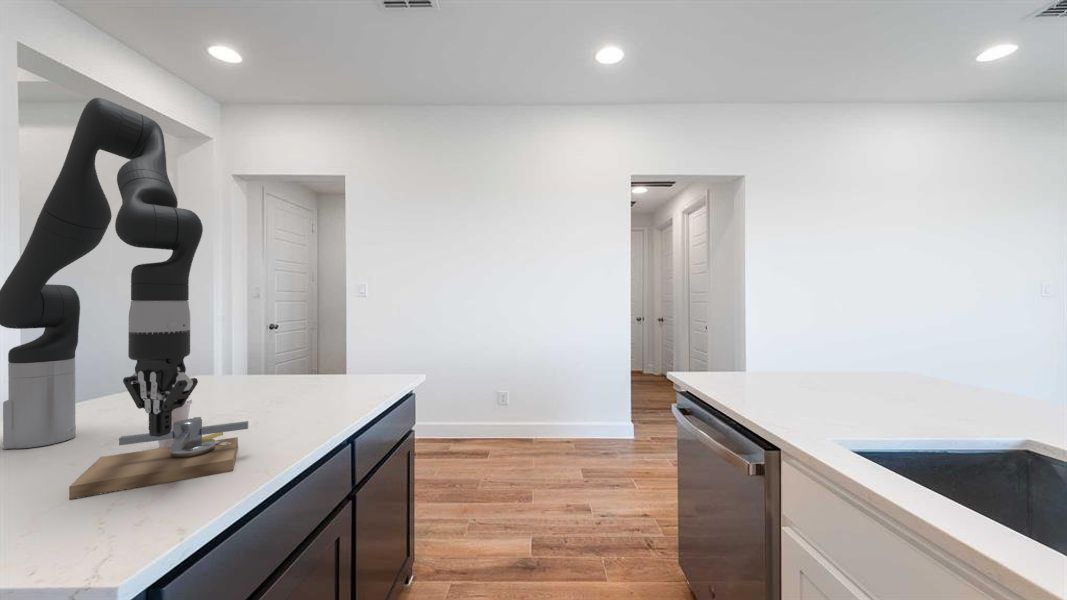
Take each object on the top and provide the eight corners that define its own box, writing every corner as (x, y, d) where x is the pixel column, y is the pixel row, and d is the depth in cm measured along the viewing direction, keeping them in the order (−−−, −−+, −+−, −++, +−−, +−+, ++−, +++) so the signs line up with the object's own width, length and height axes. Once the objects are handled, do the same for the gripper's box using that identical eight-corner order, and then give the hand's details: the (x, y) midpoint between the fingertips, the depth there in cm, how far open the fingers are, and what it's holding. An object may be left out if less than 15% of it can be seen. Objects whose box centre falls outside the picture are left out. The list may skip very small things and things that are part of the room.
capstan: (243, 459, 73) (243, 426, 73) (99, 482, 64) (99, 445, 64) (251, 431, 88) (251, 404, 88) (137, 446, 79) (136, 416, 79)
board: (69, 499, 63) (69, 485, 63) (100, 468, 75) (100, 455, 75) (232, 470, 74) (232, 458, 74) (237, 446, 86) (237, 436, 86)
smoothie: (173, 454, 82) (173, 382, 82) (141, 454, 82) (140, 382, 82) (200, 443, 88) (200, 376, 88) (170, 442, 88) (170, 376, 88)
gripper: (215, 328, 71) (214, 431, 71) (154, 326, 74) (154, 425, 74) (167, 331, 63) (166, 446, 63) (102, 329, 66) (101, 439, 66)
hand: (160, 434), depth 69 cm, fingers closed
